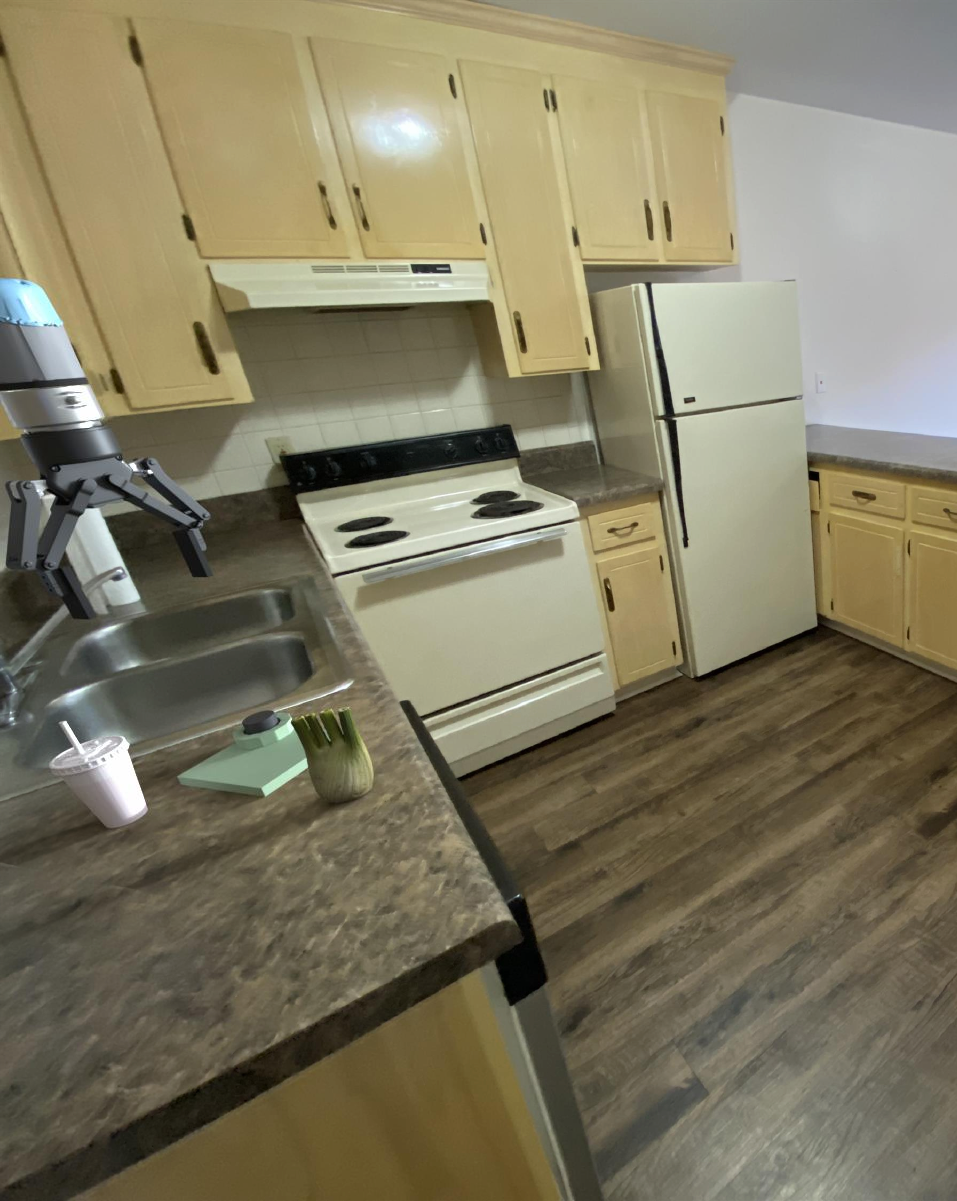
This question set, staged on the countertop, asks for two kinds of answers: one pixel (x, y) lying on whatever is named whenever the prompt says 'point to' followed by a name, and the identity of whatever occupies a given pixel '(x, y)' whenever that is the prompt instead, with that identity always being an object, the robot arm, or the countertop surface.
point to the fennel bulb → (335, 755)
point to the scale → (252, 761)
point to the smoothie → (102, 778)
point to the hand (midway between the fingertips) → (148, 596)
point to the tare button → (260, 722)
